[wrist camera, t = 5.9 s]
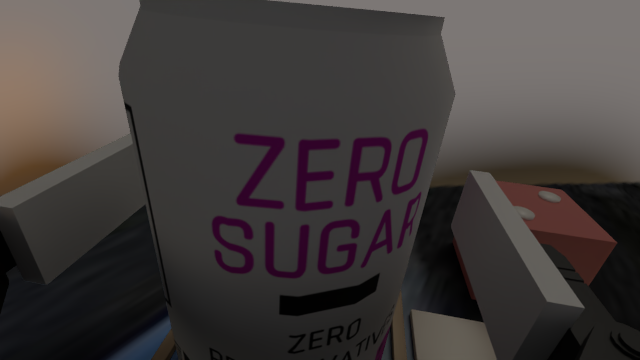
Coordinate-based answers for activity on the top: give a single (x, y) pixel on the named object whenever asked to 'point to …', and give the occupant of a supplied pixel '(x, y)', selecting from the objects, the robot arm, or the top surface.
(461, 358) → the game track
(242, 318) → the supplement can
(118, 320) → the top surface
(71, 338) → the top surface
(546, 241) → the red die
